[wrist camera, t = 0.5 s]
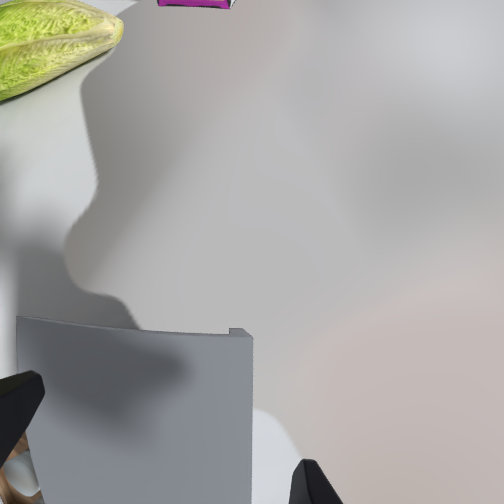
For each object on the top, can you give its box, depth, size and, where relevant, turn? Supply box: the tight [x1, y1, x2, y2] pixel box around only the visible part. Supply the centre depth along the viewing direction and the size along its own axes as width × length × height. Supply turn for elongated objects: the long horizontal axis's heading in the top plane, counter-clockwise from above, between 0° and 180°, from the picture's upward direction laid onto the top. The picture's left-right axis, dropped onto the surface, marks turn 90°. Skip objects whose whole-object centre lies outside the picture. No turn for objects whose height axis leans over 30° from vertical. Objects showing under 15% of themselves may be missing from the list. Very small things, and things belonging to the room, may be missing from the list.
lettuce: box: [0, 0, 124, 101], centre depth 22 cm, size 15×24×14 cm, turn 86°
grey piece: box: [16, 316, 253, 504], centre depth 15 cm, size 18×12×10 cm
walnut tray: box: [0, 431, 45, 504], centre depth 14 cm, size 12×20×6 cm, turn 89°
